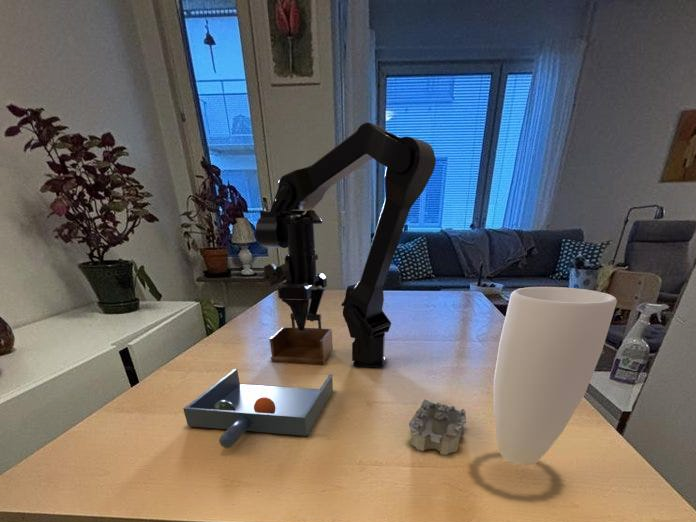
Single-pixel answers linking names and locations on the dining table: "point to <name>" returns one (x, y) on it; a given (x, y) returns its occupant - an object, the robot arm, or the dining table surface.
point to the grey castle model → (437, 427)
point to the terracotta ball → (264, 406)
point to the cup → (545, 365)
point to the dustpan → (289, 418)
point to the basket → (302, 343)
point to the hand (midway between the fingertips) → (306, 325)
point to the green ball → (224, 405)
